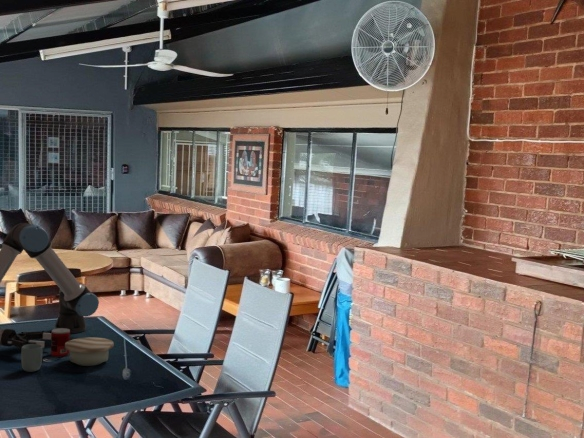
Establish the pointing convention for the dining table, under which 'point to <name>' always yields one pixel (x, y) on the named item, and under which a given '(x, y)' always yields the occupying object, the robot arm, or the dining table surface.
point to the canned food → (59, 342)
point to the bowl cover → (89, 345)
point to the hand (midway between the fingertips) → (50, 340)
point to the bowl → (88, 358)
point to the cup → (31, 357)
